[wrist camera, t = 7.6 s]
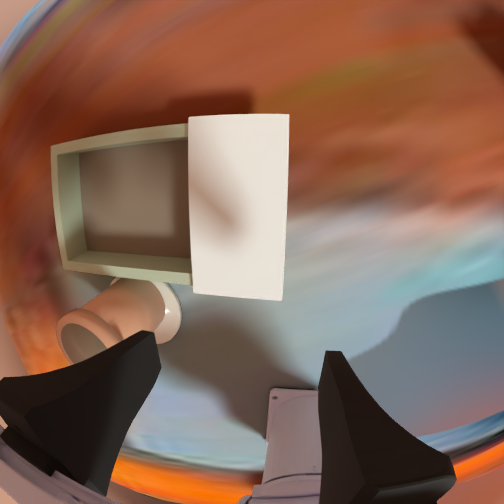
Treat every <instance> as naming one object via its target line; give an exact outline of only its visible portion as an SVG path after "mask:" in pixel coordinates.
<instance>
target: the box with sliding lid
mask: <svg viewBox="0 0 504 504" xmlns="http://www.w3.org/2000/svg"><path fill="white" fill-rule="evenodd" d="M288 158H289V114H229V115H209V116H194V117H189V121H188V123H185V124H174V125H164V126H155V127H147V128H140V129H133V130H126V131H120V132H114V133H108V134H102V135H97V136H92V137H87V138H82V139H78V140H73V141H69V142H65V143H61V144H57V145H53V146H51V177H52V192H53V204H54V213H55V222H56V230H57V236H58V243H59V249H60V255H61V260H62V265H63V269H64V270H71V271H78V272H85V273H92V274H99V275H107V276H115V277H123V278H131V279H140V280H148V281H157V282H167V283H176V284H186V285H193V290H194V293H198V294H208V295H218V296H229V297H240V298H253V299H265V300H279V301H282V295H283V279H284V261H285V242H286V219H287V193H288Z"/></svg>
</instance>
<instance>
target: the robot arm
mask: <svg viewBox="0 0 504 504" xmlns="http://www.w3.org/2000/svg"><path fill="white" fill-rule="evenodd" d="M160 370H161V363H160V359H159V354H158V349H157V344H156V339H155V334H154V332H151V331H145V330H141V331H139V332H137V333H135V334H133V335H131V336H129V337H128V338H126V339H124V340H122V341H120V342H119V343H117V344H115V345H113V346H111V347H110V348H108V349H106V350H104V351H102V352H100V353H98V354H96V355H94V356H92V357H90V358H88V359H86V360H83V361H81V362H79V363H76V364H73V365H71V366H68V367H65V368H61V369H58V370H54V371H51V372H47V373H42V374H37V375H30V376H22V377H4V378H3V379H2V380H1V381H0V416H1V417H2V418H3V420H4V421H5V423H6V424H7V425H8V427H7V428H6V429H4V428H3V427H2V426H1V425H0V487H1V488H2V489H3V490H4V491H5V492H6V493H7V494H8V495H9V496H11V497H12V498H13V499H14V500H15V501H16V502H17V503H18V504H81V503H82V504H120V503H118V502H115V501H113V500H111V499H109V498H106V495H107V490H108V486H109V482H110V478H111V475H112V471H113V468H114V465H115V462H116V459H117V456H118V453H119V451H120V448H121V446H122V443H123V441H124V438H125V436H126V434H127V431H128V429H129V427H130V425H131V423H132V421H133V420H134V418H135V416H136V415H137V413H138V411H139V410H140V408H141V406H142V405H143V403H144V401H145V400H146V398H147V396H148V395H149V393H150V391H151V390H152V388H153V386H154V384H155V382H156V380H157V377H158V375H159V372H160ZM274 396H276V397H274ZM266 444H267V445H268V448H267V454H266V461H265V467H264V473H263V479H262V484H261V485H254V487H253V492H252V495H246V496H244V497H243V498H241V499H240V500H239V502H238V503H237V504H437V500H438V499H439V498H441V497H442V496H443V495H444V494H445V493H446V492H448V491H449V490H450V489H451V488H452V486H453V485H454V484H455V482H456V480H457V478H456V475H455V471H454V468H453V465H452V462H451V460H450V457H449V456H447V455H445V454H443V453H441V452H439V451H437V450H435V449H434V448H432V447H430V446H428V445H426V444H425V443H423V442H422V441H420V440H419V439H417V438H416V437H414V436H413V435H411V434H410V433H409V432H408V431H406V430H405V429H404V428H403V427H401V426H400V425H399V424H398V423H396V422H395V421H394V420H393V419H392V418H391V417H390V416H389V415H388V414H387V413H386V412H385V411H384V410H383V409H382V408H381V407H380V406H379V405H378V404H377V402H376V401H375V400H374V399H373V398H372V396H371V395H370V394H369V393H368V391H367V390H366V389H365V387H364V386H363V384H362V383H361V382H360V380H359V379H358V377H357V376H356V374H355V373H354V371H353V370H352V368H351V367H350V365H349V363H348V362H347V360H346V358H345V357H344V355H343V353H342V352H341V351H326V352H325V357H324V362H323V367H322V372H321V377H320V381H319V386H318V391H317V390H295V389H280V388H273V389H271V390H270V397H269V409H268V421H267V432H266Z"/></svg>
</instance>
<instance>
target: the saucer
mask: <svg viewBox="0 0 504 504" xmlns="http://www.w3.org/2000/svg"><path fill="white" fill-rule="evenodd" d="M120 278H121V277H115V278H114V279H113V281H112V282H111V284H110V286H111V285H112V284H113V283H115V282H116V281H117V280H119V279H120ZM150 282H152V283H153V284H154V285H155V286H156V287H157V289H158V290H159V291H160V293H161V295H162V297H163V299H164V302H165V309H166V310H165V316H164V319H163V321H162V322H161V323H160V324H159V326H158V327H157V328H156V330H155V331H154V334H155V339H156V344H162V343H165V342H167V341H169V340H171V339H172V338H173V337H174V336H175V334H176V333H177V331H178V330H179V328H180V326H181V322H182V309H181V305H180V302H179V300H178V297H177V296H176V294H175V292H174V291H173V289H172V288H171V287H170V286H169V284H168V283H167V282H157V281H150Z"/></svg>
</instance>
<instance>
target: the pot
mask: <svg viewBox="0 0 504 504" xmlns="http://www.w3.org/2000/svg"><path fill="white" fill-rule="evenodd" d="M165 310H166V309H165V302H164V299H163V297H162V295H161V293H160V291H159V290H158V289H157V287H156V286H155V285H154V284H153V283H152V282H150V281H148V280H140V279H131V278H123V277H121V278H120V279H119V280H117V281H116V282H115V283H113V284H112V285H111V286H109V287H108V288H107V289H105V290H104V291H103V292H101V293H100V294H99V295H98V296H96V297H95V298H94V299H92V300H91V301H90V302H89V303H87V304H86V305H85V306H84V307H82V308H81V309H74V310H72V311H70V312H69V313H67V314H66V315H65V316H64V317H62V318H61V319H60V320H59V321H58V323H57V327H56V335H57V340H58V343H59V346H60V348H61V350H62V352H63V354H64V355H65V357H66V358H67V360H68V361H69V362H70V364H71V365H73V364H76V363H79V362H81V361H83V360H86V359H88V358H90V357H92V356H94V355H96V354H98V353H100V352H102V351H104V350H106V349H108V348H110V347H111V346H113V345H115V344H117V343H119V342H120V341H122V340H124V339H126V338H128V337H129V336H131V335H133V334H135V333H137V332H139V331H141V330H145V331H151V332H154V331H155V330H156V328H157V327H158V326H159V324H160V323H161V322H162V321H163V319H164V316H165Z"/></svg>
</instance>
